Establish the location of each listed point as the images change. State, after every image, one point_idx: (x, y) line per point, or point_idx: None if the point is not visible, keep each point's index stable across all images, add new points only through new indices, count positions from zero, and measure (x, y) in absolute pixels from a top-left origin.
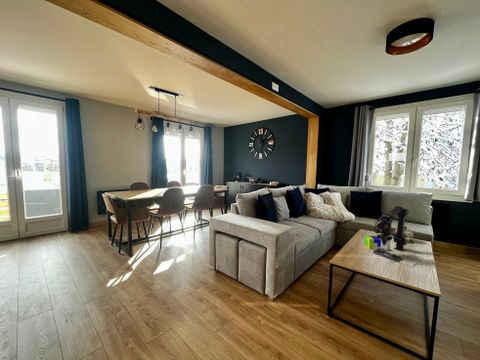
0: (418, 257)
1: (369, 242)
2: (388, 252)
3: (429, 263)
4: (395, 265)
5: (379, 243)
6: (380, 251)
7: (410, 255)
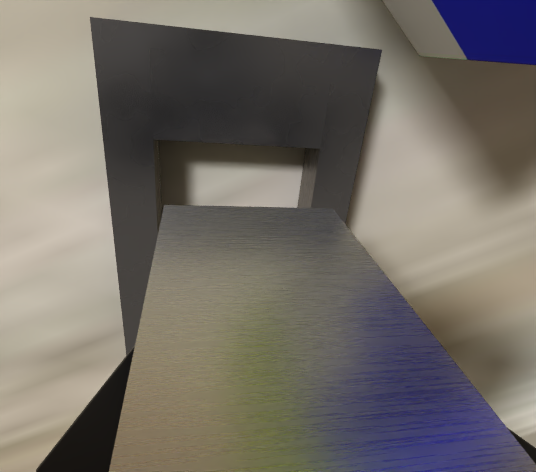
0: (507, 393)
1: None
2: None
3: None
4: (14, 414)
5: (518, 17)
6: (229, 141)
7: (512, 347)
